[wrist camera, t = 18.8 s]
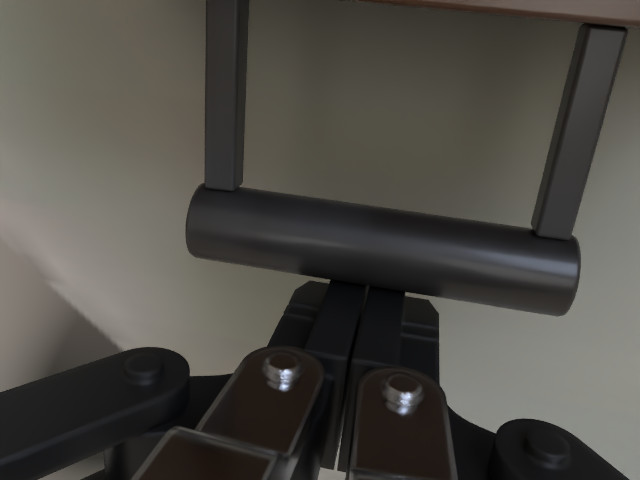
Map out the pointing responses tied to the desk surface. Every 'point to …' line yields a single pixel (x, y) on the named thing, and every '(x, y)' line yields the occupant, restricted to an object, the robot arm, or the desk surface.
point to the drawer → (399, 225)
